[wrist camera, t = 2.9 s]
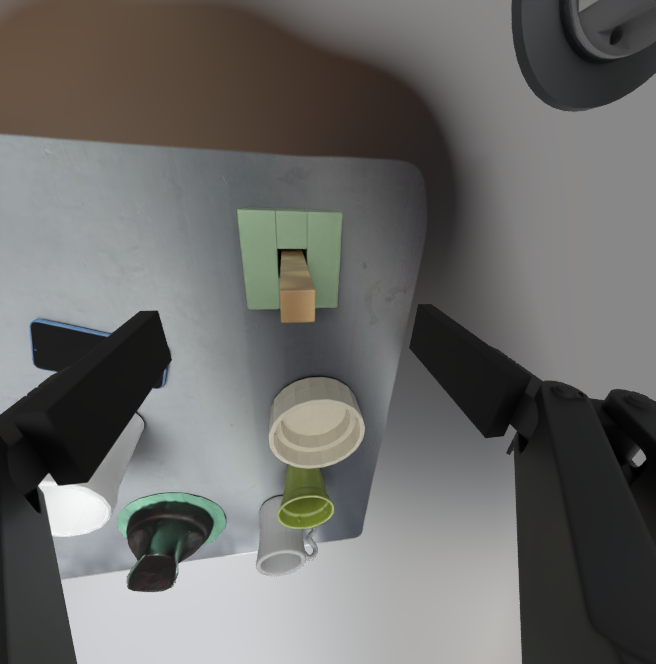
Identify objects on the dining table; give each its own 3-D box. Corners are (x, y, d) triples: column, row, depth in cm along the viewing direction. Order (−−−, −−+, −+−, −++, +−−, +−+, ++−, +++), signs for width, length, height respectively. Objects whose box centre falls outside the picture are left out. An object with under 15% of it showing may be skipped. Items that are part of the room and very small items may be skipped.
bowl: (326, 358, 40) (333, 382, 35) (369, 411, 47) (380, 439, 42) (252, 404, 42) (247, 434, 37) (303, 449, 49) (305, 480, 43)
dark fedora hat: (103, 496, 45) (225, 488, 50) (140, 500, 60) (231, 494, 65) (60, 621, 37) (211, 598, 42) (116, 590, 52) (222, 575, 56)
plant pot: (309, 486, 54) (313, 533, 46) (269, 474, 50) (266, 523, 43) (336, 458, 51) (345, 504, 44) (295, 443, 48) (297, 490, 40)
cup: (154, 396, 39) (99, 480, 27) (162, 443, 43) (119, 533, 32) (75, 395, 37) (-20, 485, 25) (92, 445, 41) (18, 541, 30)
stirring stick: (299, 243, 32) (315, 290, 16) (300, 262, 33) (315, 322, 17) (281, 243, 32) (279, 290, 16) (282, 262, 33) (281, 323, 17)
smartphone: (162, 391, 37) (31, 369, 33) (165, 387, 38) (37, 365, 34) (168, 348, 35) (26, 318, 30) (171, 345, 35) (32, 315, 31)
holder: (332, 209, 31) (342, 212, 25) (329, 291, 35) (337, 307, 30) (244, 206, 29) (236, 209, 24) (253, 292, 34) (247, 309, 29)
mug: (253, 516, 56) (247, 575, 47) (269, 490, 53) (267, 549, 44) (305, 522, 60) (309, 578, 51) (323, 499, 57) (330, 554, 48)
